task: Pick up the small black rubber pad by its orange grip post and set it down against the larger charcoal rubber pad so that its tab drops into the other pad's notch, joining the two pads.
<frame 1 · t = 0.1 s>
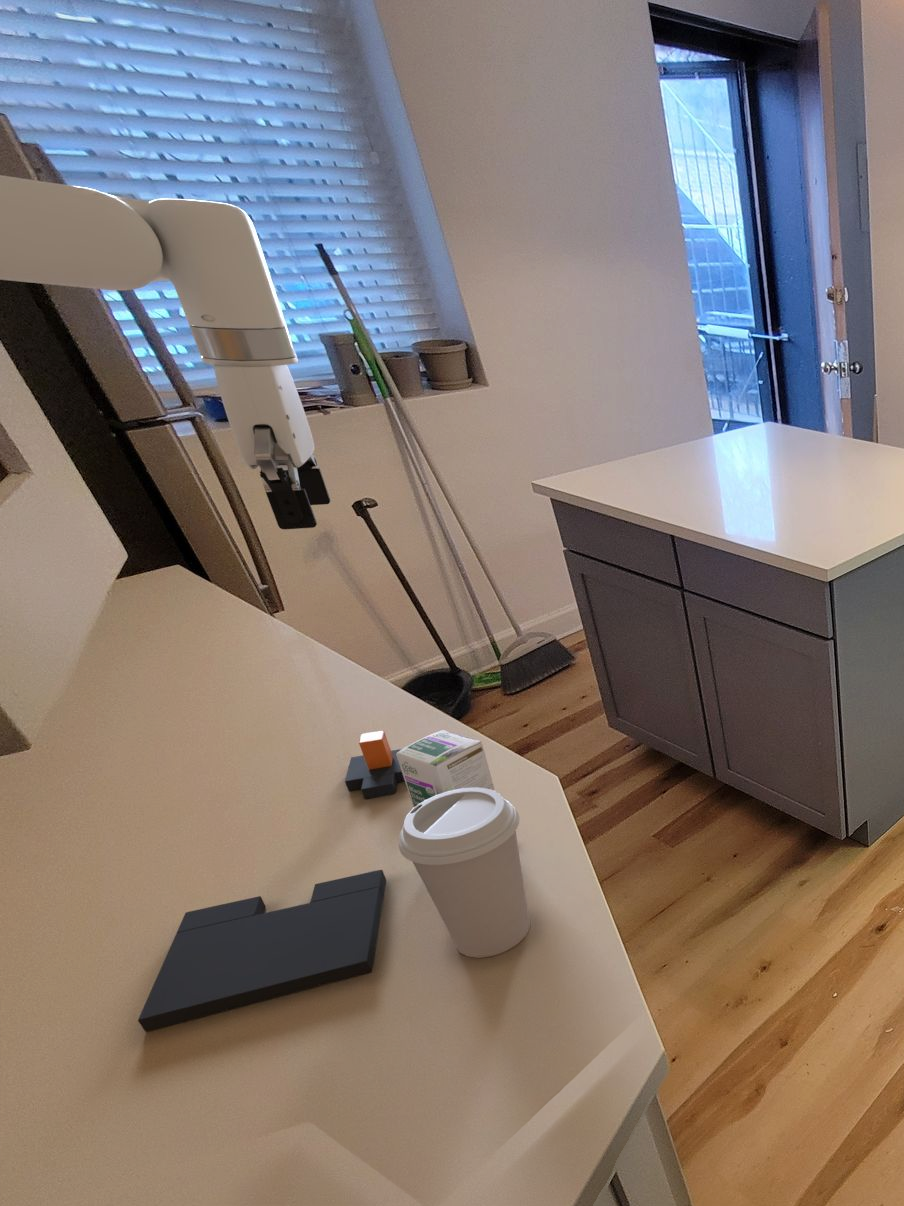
hand: (306, 515, 87), 32 cm above the counter, tool pointing down, fingers open, 9 cm apart
coffee cup: (494, 934, 78), on the counter
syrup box: (472, 856, 88), on the counter
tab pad: (384, 773, 100), on the counter
notch pad: (279, 947, 75), on the counter
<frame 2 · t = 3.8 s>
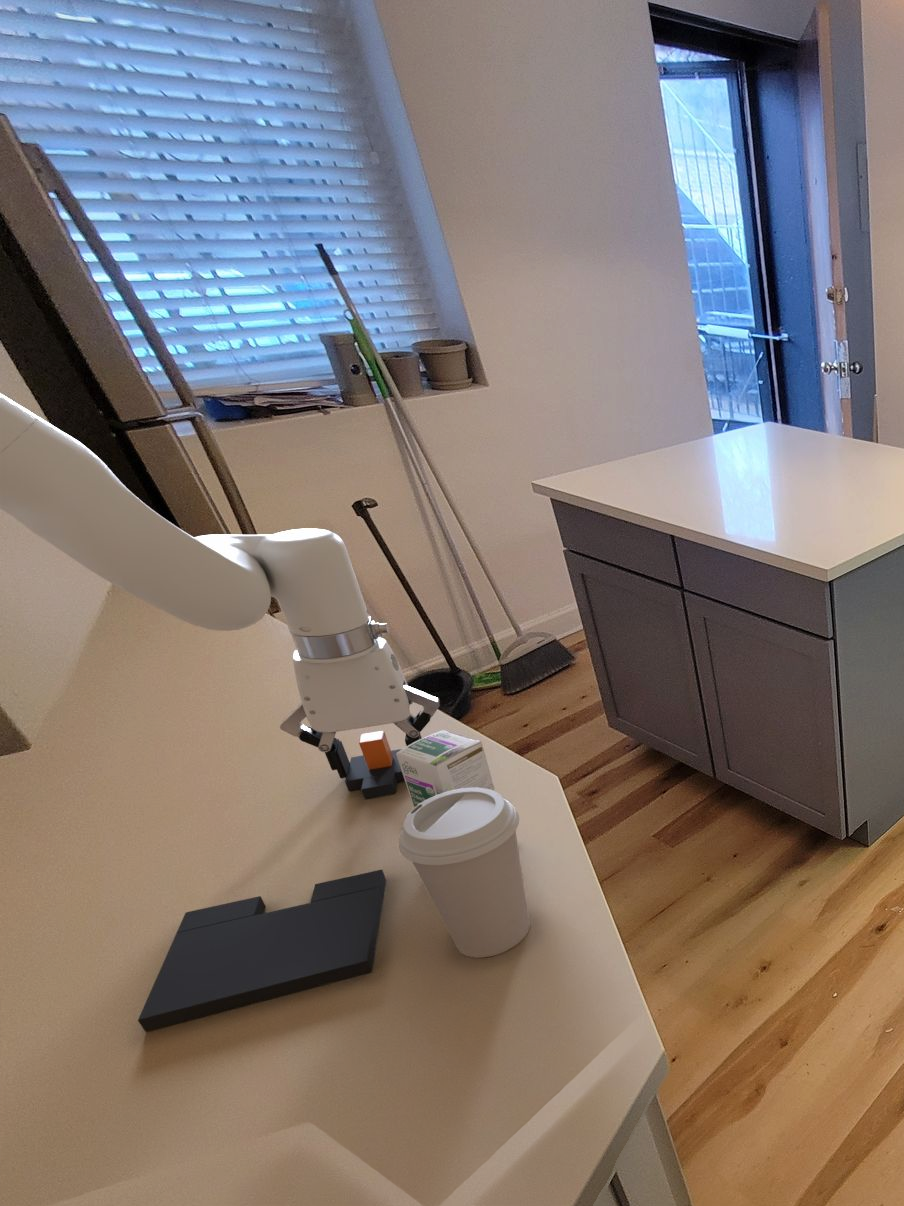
hand: (382, 765, 100), 1 cm above the counter, tool pointing down, fingers closed on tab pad, 7 cm apart
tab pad: (384, 773, 100), on the counter, touching gripper
everything else where it was.
when the fingers open (1 cm above the counter, at t = 11.0 s): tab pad stays where it is, on the counter.
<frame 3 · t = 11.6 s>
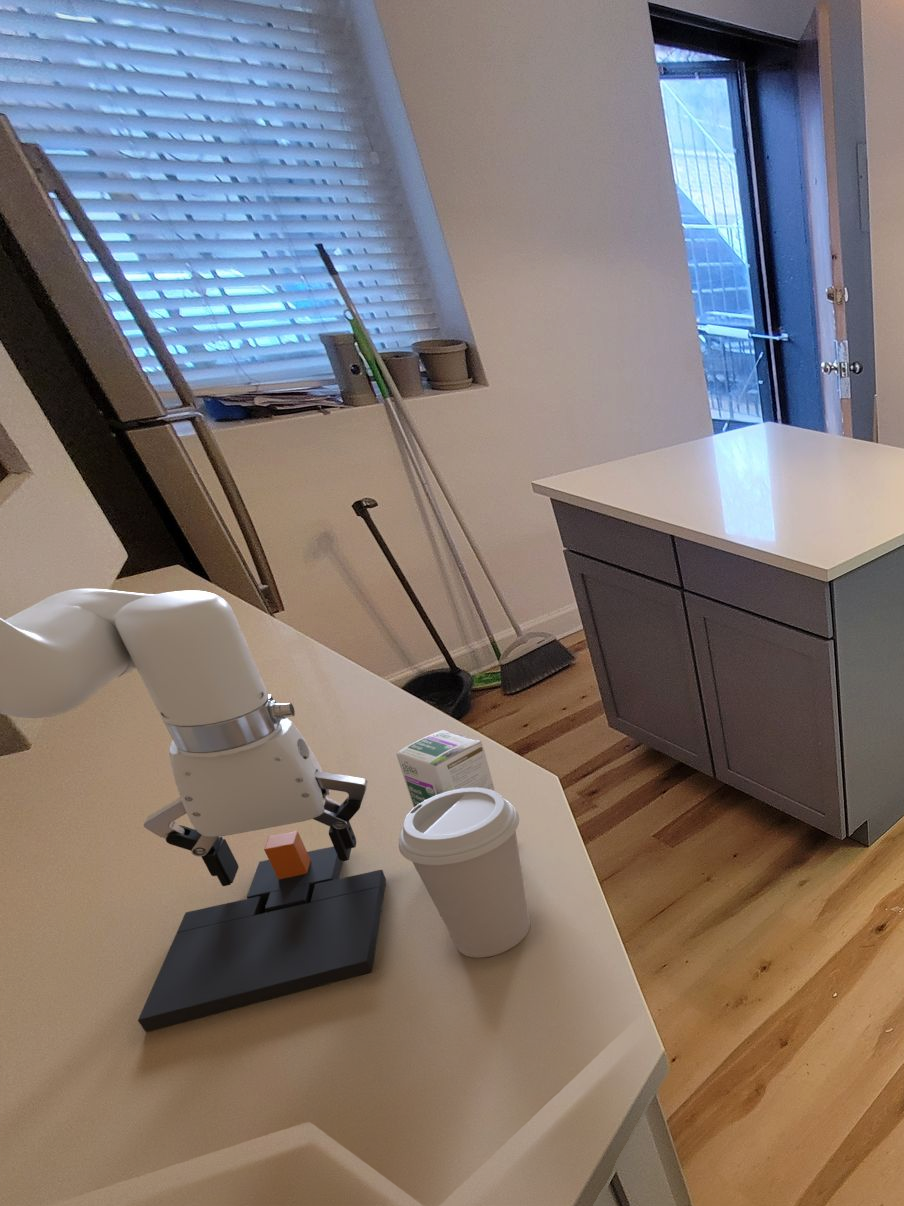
hand: (290, 864, 82), 2 cm above the counter, tool pointing down, fingers open, 9 cm apart
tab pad: (300, 880, 83), on the counter
everything else where it was.
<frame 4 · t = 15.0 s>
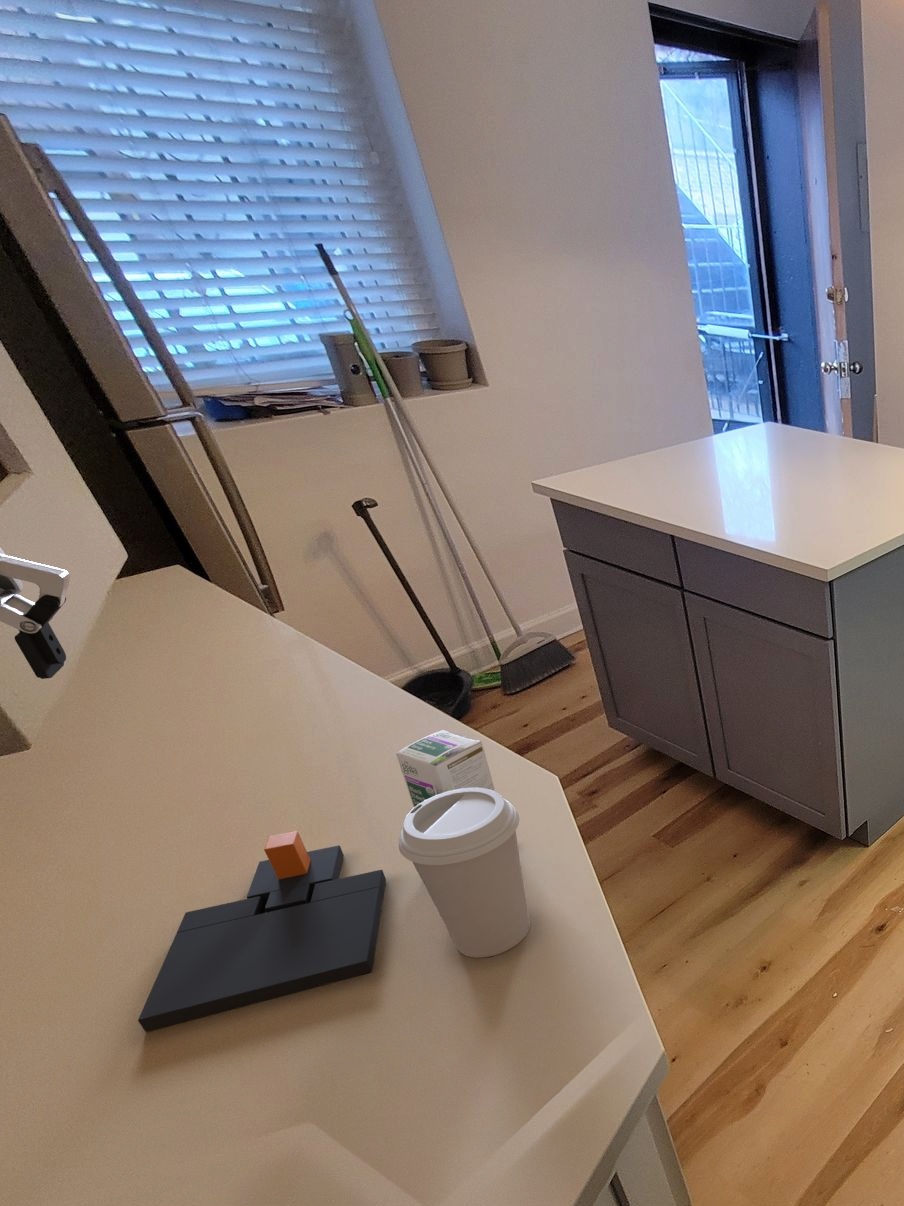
nothing on the counter moved.
at the end: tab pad 0.1 cm from the target spot on the counter beside the notch pad, on the counter; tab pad tilted 0°; the gripper is holding nothing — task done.
